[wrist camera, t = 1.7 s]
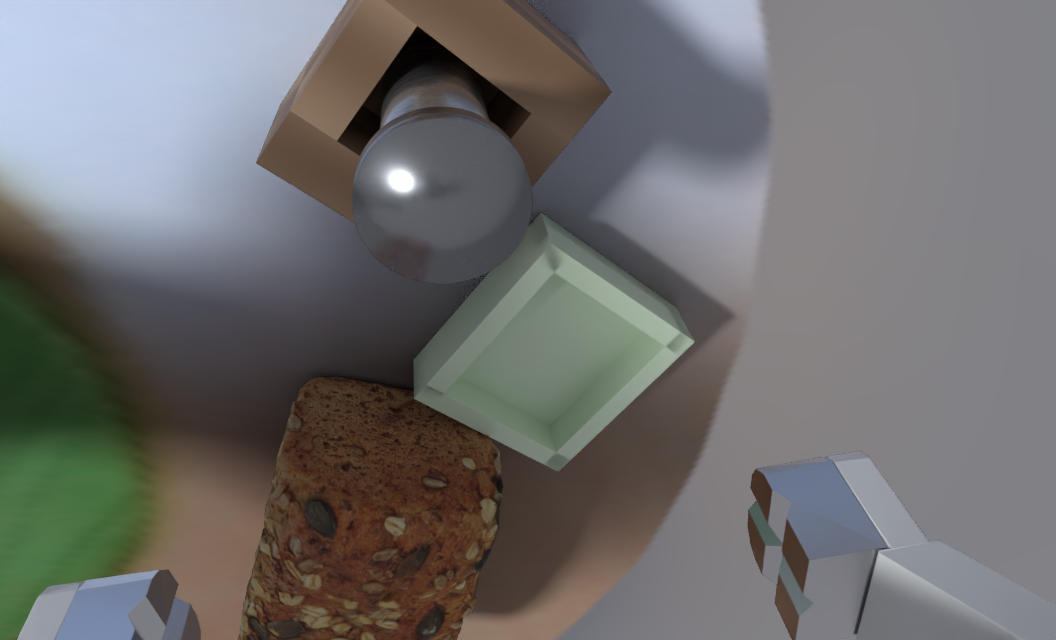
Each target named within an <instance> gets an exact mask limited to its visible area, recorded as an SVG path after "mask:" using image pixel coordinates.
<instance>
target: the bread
mask: <svg viewBox="0 0 1056 640" xmlns="http://www.w3.org/2000/svg"><path fill="white" fill-rule="evenodd" d="M501 466H502V465H501V461H500V451H499V450H498V449H497V447H496V446H495V445H494V444H493V442H492V441H491V438H490V437H489V436H488V435H484V434H482V433H481V432H479V431H477V430H475V429H473V428H471V427H469V426H467V425H465V424H463V423H461V422H459V421H457V420H455V419H453V418H451V417H449V416H447V415H445V414H443V413H441V412H439V411H437V410H435V409H433V408H431V407H429V406H427V405H425V404H423V403H421V402H419V401H417V400H416V399H414V390H406V389H398V388H393V387H389V386H386V385H383V384H381V383H367V382H362V381H357V380H352V379H347V378H341V377H318V378H312V379H311V380H309V381H308V382H307V383H305V384H304V385H303V387H302V389H300V390H299V394H298V398H297V401H296V402H294V401H293V404H292V407H291V414H290V417H289V419H288V422H287V425H286V431H285V434H284V438H283V440H282V443H281V446H280V449H279V453H278V456H277V462H276V471H275V474H274V479H273V481H272V489H271V495H269V498H268V500H267V503H266V508H265V517H264V526H265V528H264V529H263V532H262V536H261V540H260V544H259V546H258V548H257V551H256V553H255V564H254V567H253V570H252V576H251V578H250V580H249V583H248V586H247V592H246V597H245V600H244V603H243V612H242V619H241V625H240V634H239V637H238V640H457V638H458V635H459V633H460V631H461V626H462V624H463V617H465V616H467V615H469V614H470V613H471V611H472V610H473V609H474V607H475V605H476V602H477V600H476V597H475V594H476V590H477V586H478V575H479V572H480V570H481V568H482V567H483V565H484V564H485V562H486V561H487V558H488V556H489V553H490V551H491V547H492V545H493V543H494V541H495V538H496V535H497V532H498V529H499V506H500V502H501V497H502V496H503V495H502V488H503V484H502V479H501Z"/></svg>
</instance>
